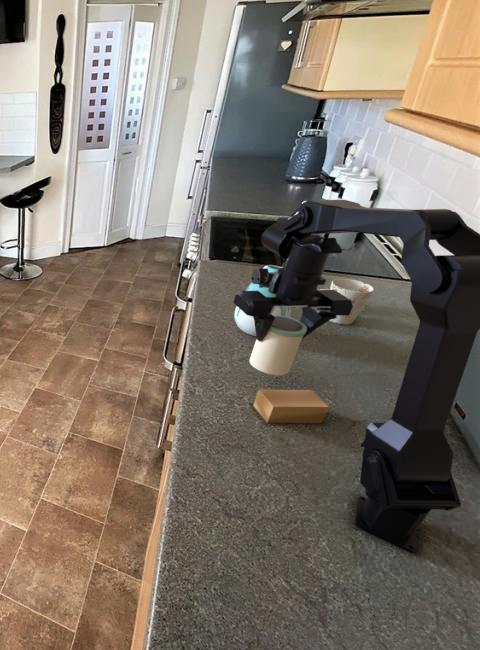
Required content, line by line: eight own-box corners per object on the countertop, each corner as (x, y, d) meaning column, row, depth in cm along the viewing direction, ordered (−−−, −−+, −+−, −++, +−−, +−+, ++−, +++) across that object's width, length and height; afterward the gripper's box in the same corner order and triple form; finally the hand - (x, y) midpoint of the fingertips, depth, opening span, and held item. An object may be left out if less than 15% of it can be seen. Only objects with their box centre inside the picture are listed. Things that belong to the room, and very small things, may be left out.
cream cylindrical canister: (324, 370, 79) (310, 307, 83) (283, 370, 79) (270, 307, 83) (282, 378, 91) (270, 323, 94) (246, 378, 91) (236, 323, 94)
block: (321, 423, 82) (329, 406, 80) (267, 422, 82) (273, 406, 80) (304, 405, 86) (311, 389, 84) (253, 405, 87) (258, 389, 85)
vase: (256, 317, 117) (276, 255, 109) (294, 338, 107) (320, 272, 99) (220, 323, 115) (237, 261, 106) (256, 346, 105) (279, 279, 96)
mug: (365, 328, 110) (381, 293, 106) (310, 324, 113) (323, 290, 108) (347, 312, 118) (361, 279, 113) (295, 309, 120) (307, 276, 115)
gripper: (326, 252, 86) (300, 320, 93) (230, 253, 87) (211, 320, 94) (370, 274, 76) (337, 348, 83) (260, 276, 77) (237, 349, 84)
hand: (277, 340), depth 86 cm, fingers closed on cream cylindrical canister, 7 cm apart
